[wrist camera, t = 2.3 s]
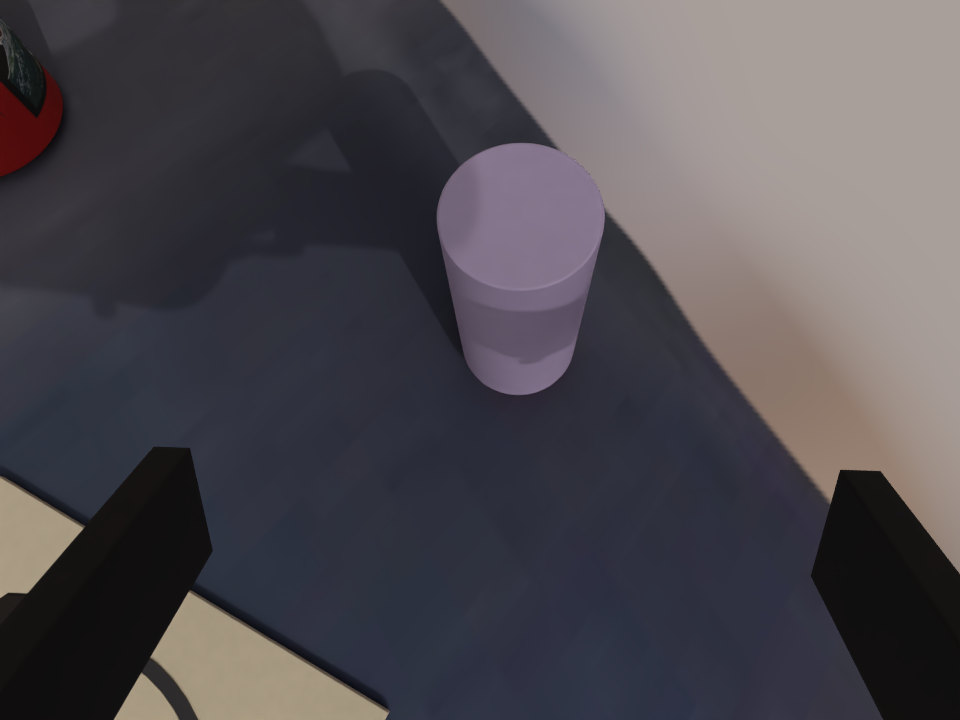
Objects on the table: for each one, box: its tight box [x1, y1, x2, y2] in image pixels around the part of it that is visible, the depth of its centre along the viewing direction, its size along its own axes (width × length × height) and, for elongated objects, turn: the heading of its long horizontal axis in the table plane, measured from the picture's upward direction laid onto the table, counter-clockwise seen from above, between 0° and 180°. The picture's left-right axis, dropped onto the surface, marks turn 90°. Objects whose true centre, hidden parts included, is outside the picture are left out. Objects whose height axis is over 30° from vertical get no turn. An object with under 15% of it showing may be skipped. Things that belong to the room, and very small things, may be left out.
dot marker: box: [437, 143, 605, 395], centre depth 23 cm, size 4×4×11 cm
